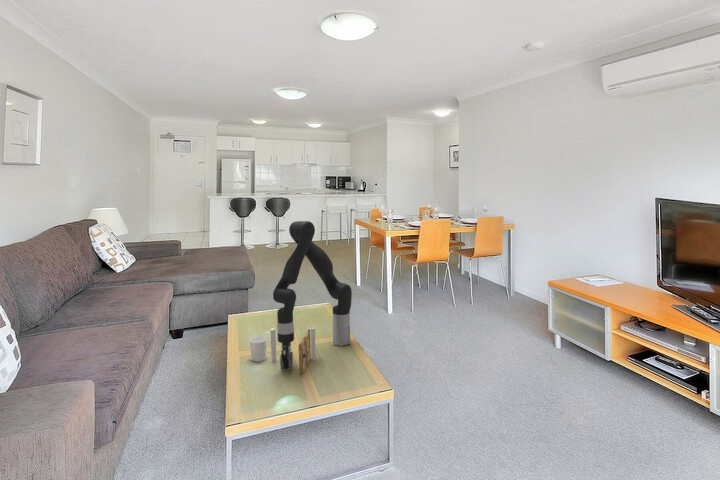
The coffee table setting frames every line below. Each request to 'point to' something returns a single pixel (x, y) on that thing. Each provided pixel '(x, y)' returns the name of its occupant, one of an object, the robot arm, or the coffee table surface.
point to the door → (304, 352)
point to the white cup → (258, 348)
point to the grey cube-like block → (288, 361)
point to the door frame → (273, 344)
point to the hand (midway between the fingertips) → (286, 365)
